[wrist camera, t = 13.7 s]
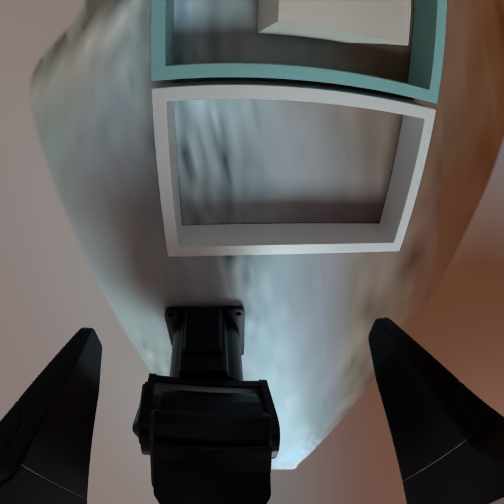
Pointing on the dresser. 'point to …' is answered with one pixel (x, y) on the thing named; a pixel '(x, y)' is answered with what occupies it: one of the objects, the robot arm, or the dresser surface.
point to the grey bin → (290, 234)
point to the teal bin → (419, 81)
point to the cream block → (338, 20)
